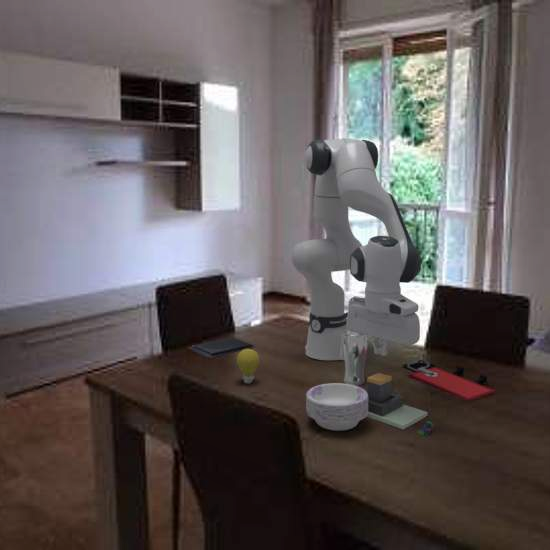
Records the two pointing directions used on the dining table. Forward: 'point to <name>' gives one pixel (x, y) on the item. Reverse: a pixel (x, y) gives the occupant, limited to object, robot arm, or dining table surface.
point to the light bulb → (248, 363)
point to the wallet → (220, 347)
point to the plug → (379, 387)
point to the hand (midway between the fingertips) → (380, 354)
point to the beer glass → (354, 357)
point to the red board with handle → (449, 380)
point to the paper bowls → (337, 405)
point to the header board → (395, 412)
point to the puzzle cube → (426, 428)
